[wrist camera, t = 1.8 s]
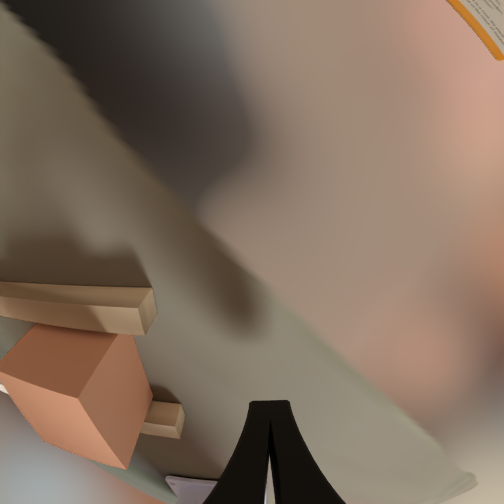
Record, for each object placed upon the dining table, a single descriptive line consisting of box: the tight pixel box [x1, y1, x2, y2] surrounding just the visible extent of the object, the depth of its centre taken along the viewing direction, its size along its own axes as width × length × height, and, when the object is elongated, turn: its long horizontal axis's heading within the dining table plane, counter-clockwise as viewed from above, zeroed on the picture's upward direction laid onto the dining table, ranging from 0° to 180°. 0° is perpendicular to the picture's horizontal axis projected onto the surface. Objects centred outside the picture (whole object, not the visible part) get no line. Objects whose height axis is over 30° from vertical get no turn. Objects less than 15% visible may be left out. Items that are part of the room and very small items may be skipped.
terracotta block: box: [0, 323, 153, 470], centre depth 10 cm, size 5×5×5 cm
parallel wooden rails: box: [0, 281, 185, 439], centre depth 12 cm, size 8×11×2 cm
